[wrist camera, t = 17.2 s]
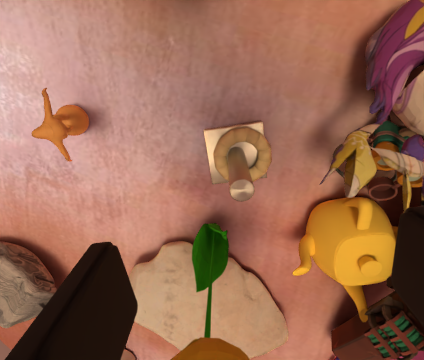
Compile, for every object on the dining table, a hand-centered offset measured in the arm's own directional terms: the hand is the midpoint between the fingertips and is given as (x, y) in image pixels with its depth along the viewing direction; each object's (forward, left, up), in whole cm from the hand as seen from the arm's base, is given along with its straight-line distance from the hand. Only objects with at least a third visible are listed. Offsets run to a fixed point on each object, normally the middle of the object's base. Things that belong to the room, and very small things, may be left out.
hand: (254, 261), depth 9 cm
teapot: (+19, +14, -29) cm, 38 cm away
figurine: (-3, -20, -29) cm, 35 cm away
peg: (+5, 0, -29) cm, 29 cm away
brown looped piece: (+10, +15, -29) cm, 34 cm away
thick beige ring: (+5, +1, -27) cm, 27 cm away
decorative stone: (+19, -41, -21) cm, 50 cm away
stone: (+23, -20, -24) cm, 39 cm away
